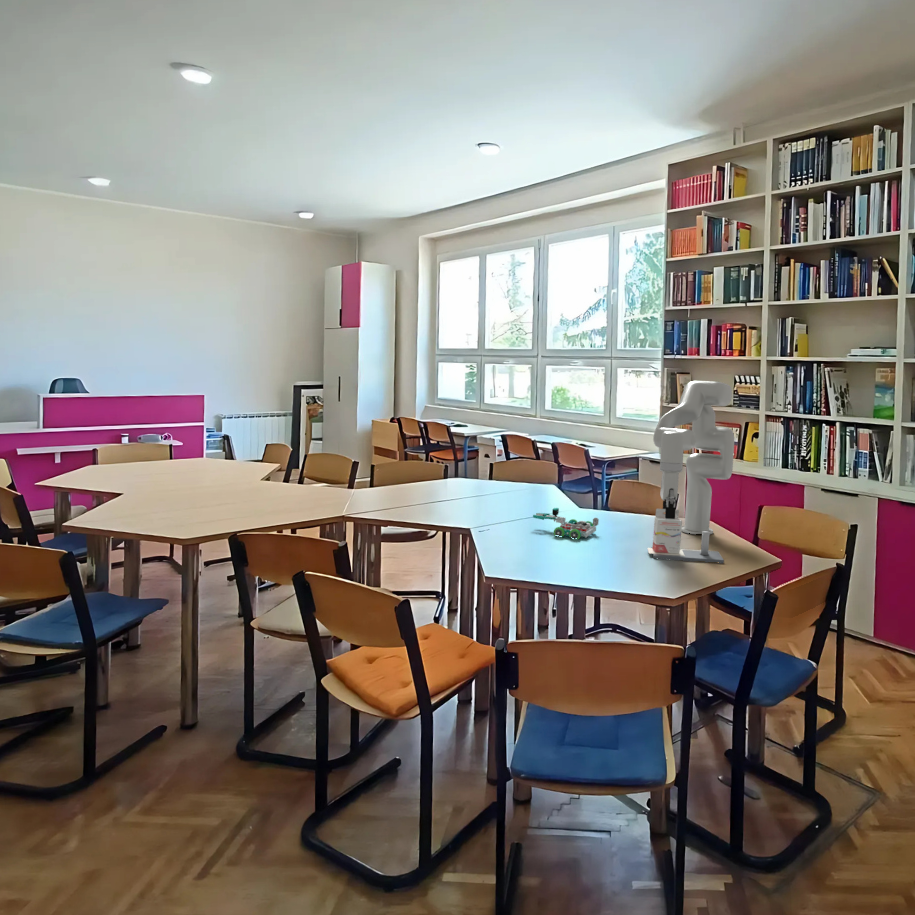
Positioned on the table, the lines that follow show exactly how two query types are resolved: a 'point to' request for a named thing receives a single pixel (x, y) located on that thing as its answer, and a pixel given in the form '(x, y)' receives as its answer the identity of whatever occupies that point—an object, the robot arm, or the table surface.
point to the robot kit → (569, 525)
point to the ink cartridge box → (666, 533)
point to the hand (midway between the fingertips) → (668, 515)
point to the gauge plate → (692, 553)
